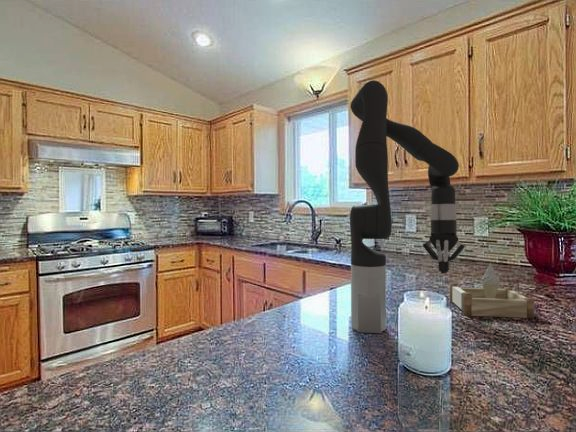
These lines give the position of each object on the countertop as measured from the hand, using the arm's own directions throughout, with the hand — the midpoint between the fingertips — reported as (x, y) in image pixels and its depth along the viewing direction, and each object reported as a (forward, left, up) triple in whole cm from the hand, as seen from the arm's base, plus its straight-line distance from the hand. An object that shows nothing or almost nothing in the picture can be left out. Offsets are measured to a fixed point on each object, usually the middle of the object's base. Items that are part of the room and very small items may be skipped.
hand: (443, 273), depth 113 cm
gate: (+2, -5, -11) cm, 12 cm away
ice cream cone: (+2, -14, -12) cm, 19 cm away
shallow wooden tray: (+2, -14, -12) cm, 18 cm away
